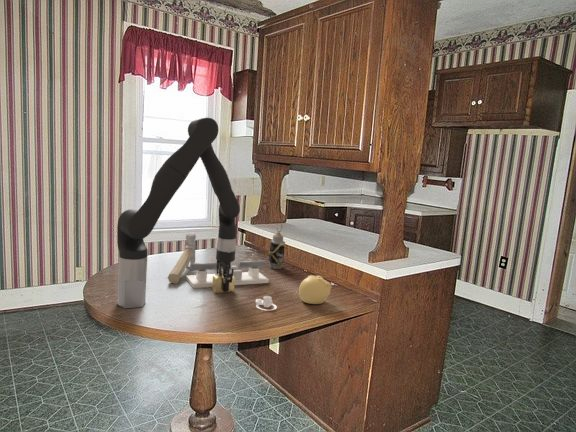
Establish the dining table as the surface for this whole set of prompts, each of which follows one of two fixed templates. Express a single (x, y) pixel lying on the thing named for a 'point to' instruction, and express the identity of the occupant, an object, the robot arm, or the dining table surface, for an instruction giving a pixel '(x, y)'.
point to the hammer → (184, 259)
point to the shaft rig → (240, 277)
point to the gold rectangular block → (221, 284)
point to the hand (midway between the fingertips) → (223, 288)
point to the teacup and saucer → (265, 303)
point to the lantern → (276, 251)
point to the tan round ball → (314, 289)
